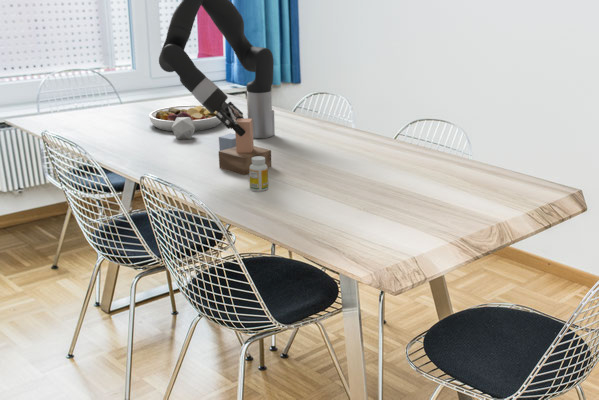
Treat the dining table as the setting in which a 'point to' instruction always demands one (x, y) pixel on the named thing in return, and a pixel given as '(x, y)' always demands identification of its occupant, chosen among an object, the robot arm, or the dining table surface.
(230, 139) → the slate cube
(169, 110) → the bowl
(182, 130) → the die
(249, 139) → the pillar block
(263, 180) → the supplement bottle
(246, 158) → the walnut block
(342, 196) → the dining table surface
